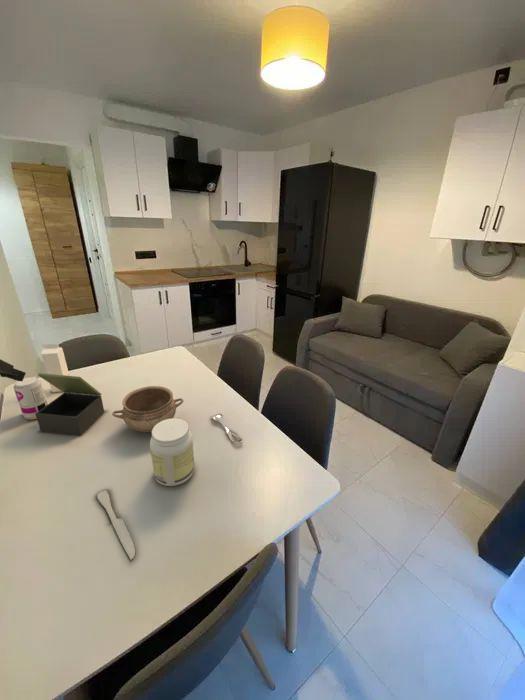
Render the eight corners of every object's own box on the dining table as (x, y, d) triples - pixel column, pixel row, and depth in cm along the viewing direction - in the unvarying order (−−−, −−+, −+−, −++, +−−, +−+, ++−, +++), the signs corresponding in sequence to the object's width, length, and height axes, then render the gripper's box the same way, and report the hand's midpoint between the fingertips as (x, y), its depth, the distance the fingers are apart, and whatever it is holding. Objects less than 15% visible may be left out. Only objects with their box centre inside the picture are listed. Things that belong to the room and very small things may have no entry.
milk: (57, 385, 134) (45, 341, 125) (72, 384, 136) (60, 340, 127) (51, 392, 129) (38, 346, 120) (67, 391, 130) (55, 346, 121)
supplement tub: (195, 456, 98) (192, 414, 91) (193, 485, 87) (190, 441, 80) (157, 459, 96) (152, 417, 89) (151, 490, 85) (144, 445, 78)
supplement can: (26, 423, 109) (15, 388, 103) (21, 413, 114) (10, 380, 108) (52, 414, 115) (42, 381, 109) (46, 405, 120) (36, 373, 114)
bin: (81, 435, 104) (76, 417, 101) (40, 431, 105) (35, 413, 102) (104, 411, 118) (101, 395, 115) (68, 408, 119) (64, 392, 116)
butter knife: (106, 488, 84) (95, 494, 82) (139, 553, 68) (126, 562, 66) (107, 489, 84) (96, 495, 82) (139, 554, 68) (126, 563, 66)
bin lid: (79, 378, 101) (80, 376, 102) (37, 375, 102) (38, 373, 103) (100, 395, 114) (101, 393, 115) (63, 392, 115) (64, 390, 116)
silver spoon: (245, 434, 103) (234, 439, 100) (246, 442, 104) (234, 447, 102) (219, 409, 118) (208, 413, 116) (219, 416, 119) (209, 420, 117)
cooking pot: (116, 450, 99) (110, 420, 94) (115, 418, 114) (110, 391, 109) (189, 432, 109) (187, 404, 104) (180, 405, 124) (178, 380, 119)
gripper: (-98, 360, 64) (-4, 387, 86) (-44, 365, 64) (37, 390, 85) (-80, 330, 67) (6, 363, 89) (-29, 334, 66) (46, 366, 88)
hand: (21, 376), depth 87 cm, fingers closed
